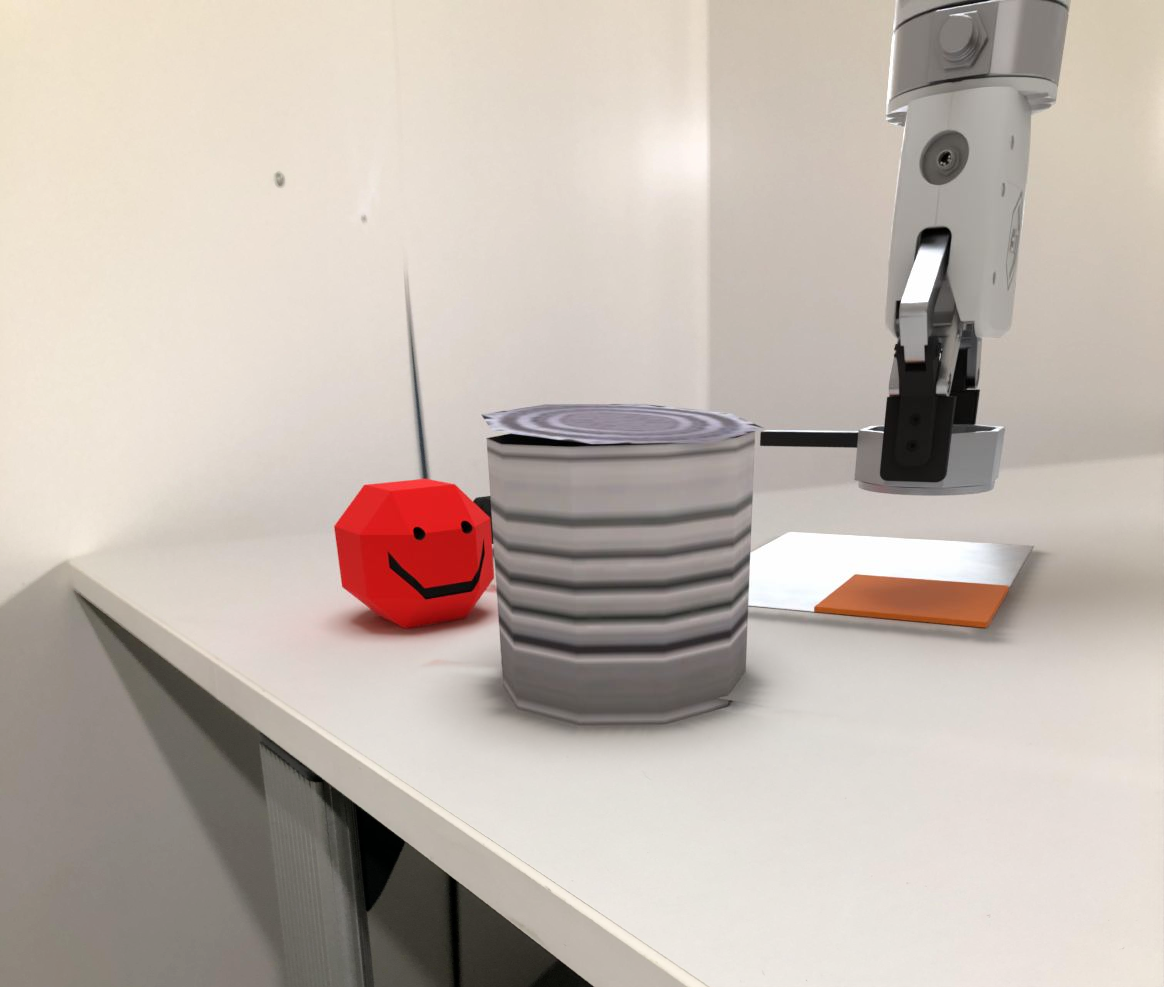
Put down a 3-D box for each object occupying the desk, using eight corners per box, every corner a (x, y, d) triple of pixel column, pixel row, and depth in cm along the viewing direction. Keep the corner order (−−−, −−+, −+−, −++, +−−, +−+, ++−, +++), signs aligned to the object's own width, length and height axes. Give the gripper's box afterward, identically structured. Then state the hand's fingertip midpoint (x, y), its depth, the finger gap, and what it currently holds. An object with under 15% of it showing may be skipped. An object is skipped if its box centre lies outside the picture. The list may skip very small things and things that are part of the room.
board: (788, 539, 76) (788, 531, 76) (1033, 553, 68) (1034, 545, 68) (665, 607, 57) (665, 597, 57) (985, 639, 49) (987, 628, 49)
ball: (386, 643, 52) (369, 498, 49) (334, 615, 58) (316, 485, 55) (513, 618, 56) (505, 484, 53) (452, 595, 62) (441, 472, 59)
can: (694, 640, 51) (698, 397, 46) (791, 708, 40) (809, 406, 36) (481, 662, 48) (461, 408, 43) (528, 742, 38) (510, 421, 33)
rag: (854, 578, 60) (855, 574, 60) (1008, 590, 56) (1009, 585, 56) (813, 611, 53) (814, 606, 53) (986, 628, 49) (987, 622, 49)
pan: (1001, 481, 53) (1010, 424, 52) (983, 498, 48) (992, 434, 46) (779, 474, 59) (782, 422, 58) (740, 488, 53) (742, 431, 52)
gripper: (1043, 8, 36) (976, 496, 43) (1074, 100, 50) (1020, 458, 57) (843, 42, 39) (812, 490, 46) (925, 120, 53) (891, 455, 60)
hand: (927, 469), depth 52 cm, fingers closed on pan, 7 cm apart
